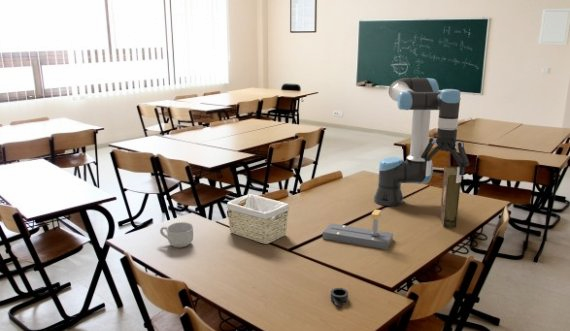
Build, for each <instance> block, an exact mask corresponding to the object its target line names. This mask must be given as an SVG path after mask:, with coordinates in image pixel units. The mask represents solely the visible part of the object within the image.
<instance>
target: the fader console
mask: <svg viewBox="0 0 570 331" xmlns="http://www.w3.org/2000/svg"><path fill="white" fill-rule="evenodd" d="M372 231H373V229H370V228H362V227H356V226H350V225H344V224H338V223H337V224H336V223H329V225H328V226H327V227H326V228H325V229H324V230H323V231H322V239H324V240H329V241H334V242H335V241H336V242H340V243H341V242H342V243H348V244H352V245H359V246H364V247H370V248H375V249H376V248H377V249H381V250H388V249H389V248H390V246H389V245H391V243H392V242H393V239H394V233H393V232H388V231H383V230H378V232H380V233H379V235H378V236H373V235H371V233H372Z"/></svg>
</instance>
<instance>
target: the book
mask: <svg viewBox="0 0 570 331" xmlns="http://www.w3.org/2000/svg"><path fill="white" fill-rule="evenodd" d="M443 167H444V168H443V178H442V190H441V191H442V192H441V200H440V202H441V203H440V211H439V217H440V221H441V224H442V227H443V228H444V227H446V228H447V227H451V228H454V229H455V228H457V224H458V223H457V221H458V212H459V202H460V193H461V192H460V191H461V182H462V181H461V182H459V183H456V177H457V167H458V166H453V165H452V166H448V165H445V166H443Z"/></svg>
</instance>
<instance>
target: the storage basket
mask: <svg viewBox="0 0 570 331" xmlns="http://www.w3.org/2000/svg"><path fill="white" fill-rule="evenodd" d="M241 204H243V206H242V205H241ZM226 209H227V213H228V214H227V215H228V224H229V233H231V234H233V233H234V235H235V234H236V235H237V236H239V237H241V238H246V239H249V240H251V241H255V242H258V243H261V244H265V245H267V244H270V243H272V242H275V241H276V240H278V239H281V238H282V237H284V236H286V235H287V228H288V215H289V211H290V205H289V203H286V202H282V201H278V200H275V199H271V198H268V197H263V196H260V195H256V194H254V193H253V194H252V193H249V194H246V195H243V196H240V197H237V198H235V199H231V200H229V201H228V202H227V204H226Z"/></svg>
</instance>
